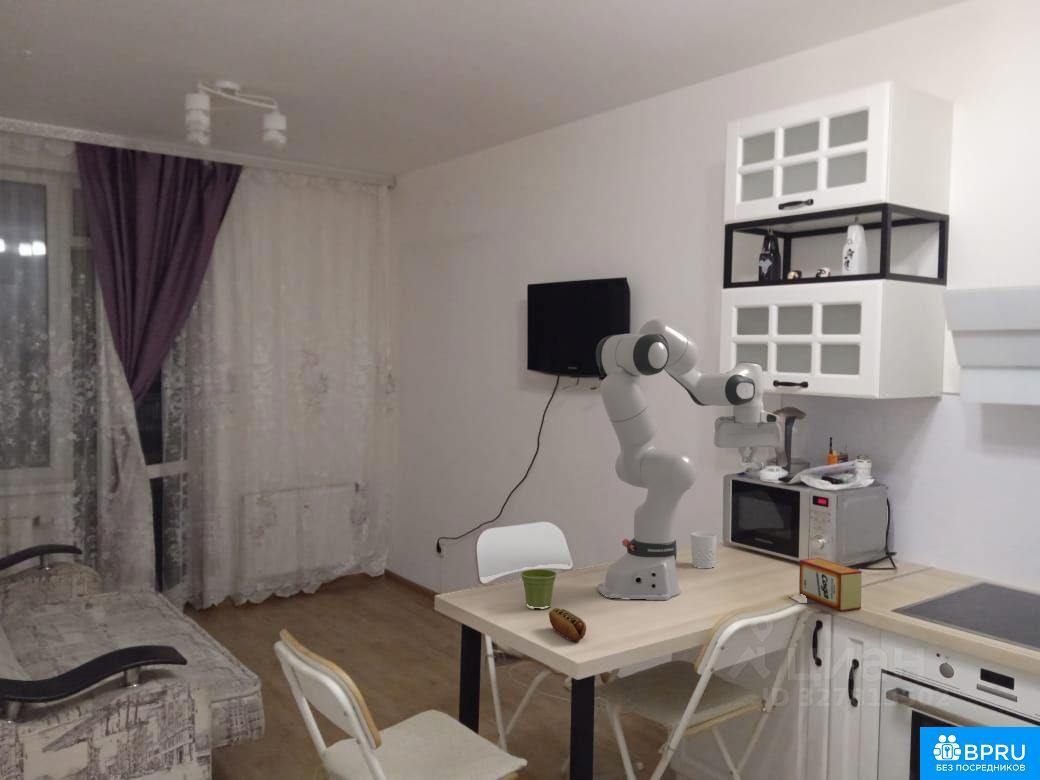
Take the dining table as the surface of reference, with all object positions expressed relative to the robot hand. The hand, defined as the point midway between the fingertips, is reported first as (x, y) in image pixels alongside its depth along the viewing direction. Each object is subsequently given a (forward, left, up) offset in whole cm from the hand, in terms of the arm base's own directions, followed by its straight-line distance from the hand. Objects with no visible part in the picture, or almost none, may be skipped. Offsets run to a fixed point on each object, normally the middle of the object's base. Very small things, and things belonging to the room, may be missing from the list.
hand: (747, 462), depth 248 cm
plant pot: (-68, -26, -33) cm, 80 cm away
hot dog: (-65, -49, -33) cm, 88 cm away
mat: (+6, -30, -33) cm, 45 cm away
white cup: (-10, +9, -33) cm, 36 cm away
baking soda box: (+7, -25, -28) cm, 38 cm away
